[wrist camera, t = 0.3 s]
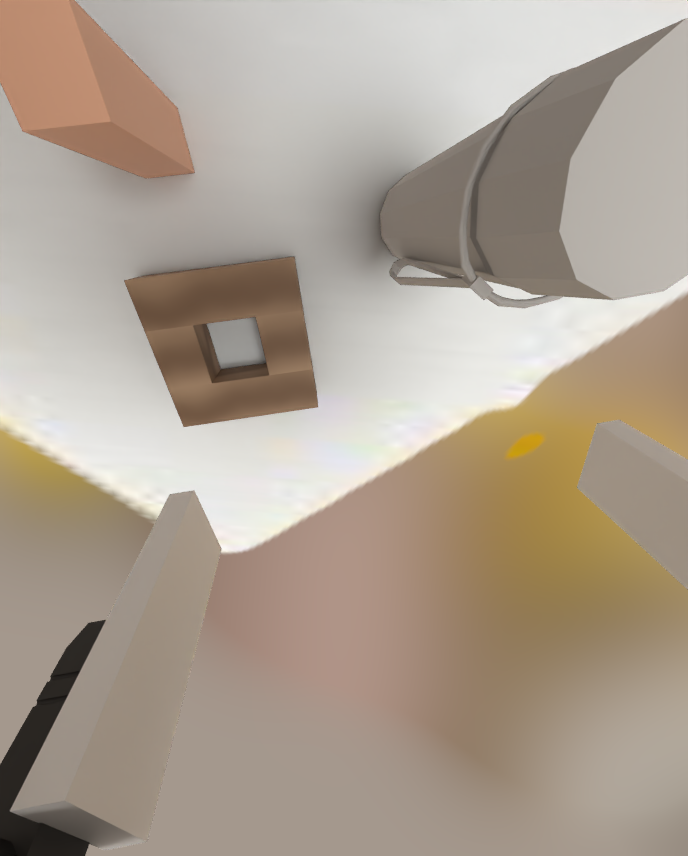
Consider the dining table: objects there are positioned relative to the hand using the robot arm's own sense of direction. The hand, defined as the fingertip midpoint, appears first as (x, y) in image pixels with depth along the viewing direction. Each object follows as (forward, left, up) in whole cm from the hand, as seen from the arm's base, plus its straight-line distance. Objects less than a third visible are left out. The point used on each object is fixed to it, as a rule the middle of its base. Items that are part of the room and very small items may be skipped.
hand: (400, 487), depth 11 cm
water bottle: (-7, +8, -27) cm, 29 cm away
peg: (-15, -12, -27) cm, 33 cm away
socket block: (+1, -10, -27) cm, 29 cm away
